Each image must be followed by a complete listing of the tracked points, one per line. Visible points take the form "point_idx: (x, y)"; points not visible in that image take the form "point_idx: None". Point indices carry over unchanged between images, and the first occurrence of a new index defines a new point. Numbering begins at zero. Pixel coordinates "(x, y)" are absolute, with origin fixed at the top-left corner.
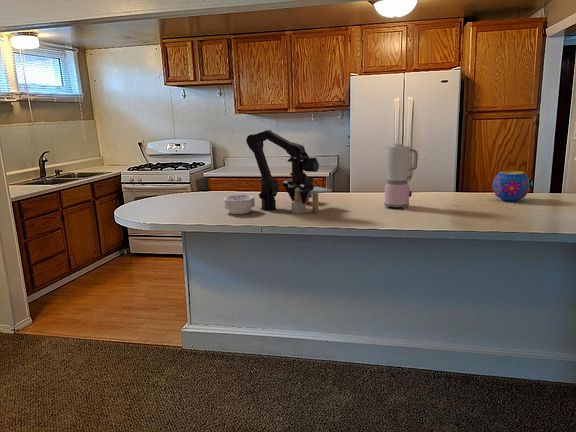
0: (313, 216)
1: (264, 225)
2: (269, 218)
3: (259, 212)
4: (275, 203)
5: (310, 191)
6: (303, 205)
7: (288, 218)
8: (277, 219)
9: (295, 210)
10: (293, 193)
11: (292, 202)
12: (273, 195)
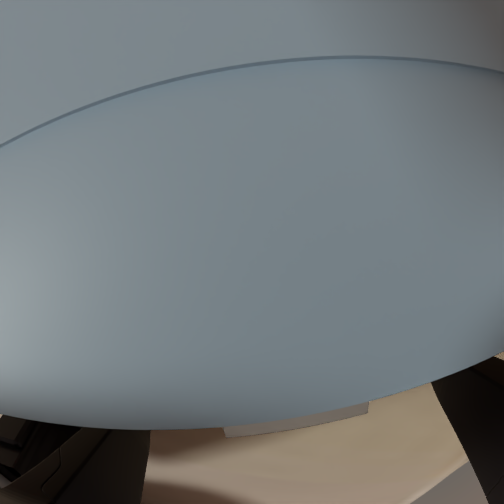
0: None
1: (418, 495)
2: (327, 490)
3: None
4: (31, 421)
5: (490, 164)
6: None
7: (411, 423)
8: (380, 467)
9: None
10: (100, 485)
11: (237, 432)
12: (1, 475)
